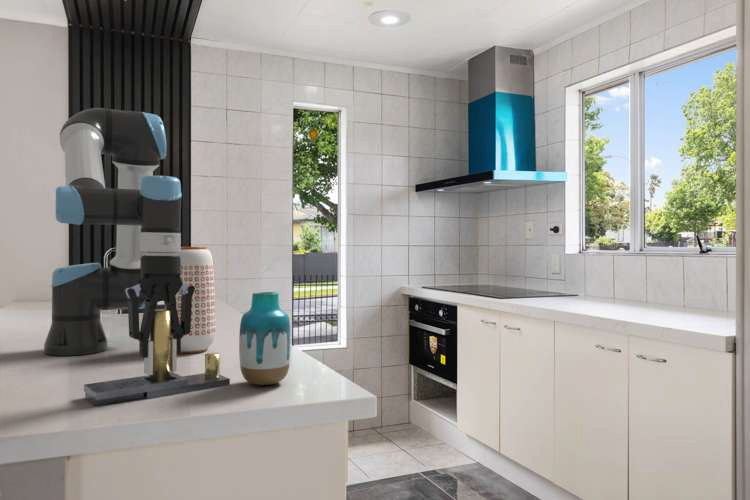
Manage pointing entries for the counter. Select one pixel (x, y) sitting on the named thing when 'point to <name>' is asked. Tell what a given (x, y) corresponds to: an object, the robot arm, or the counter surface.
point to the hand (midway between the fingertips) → (160, 371)
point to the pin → (161, 345)
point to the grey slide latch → (156, 385)
